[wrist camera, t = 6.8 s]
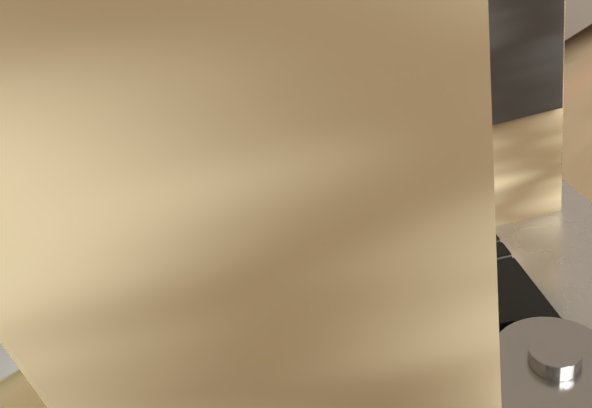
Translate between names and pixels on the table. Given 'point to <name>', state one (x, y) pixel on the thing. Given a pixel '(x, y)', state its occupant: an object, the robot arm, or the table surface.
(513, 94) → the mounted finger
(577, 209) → the grey long channel
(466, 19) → the birch finger
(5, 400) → the table surface
